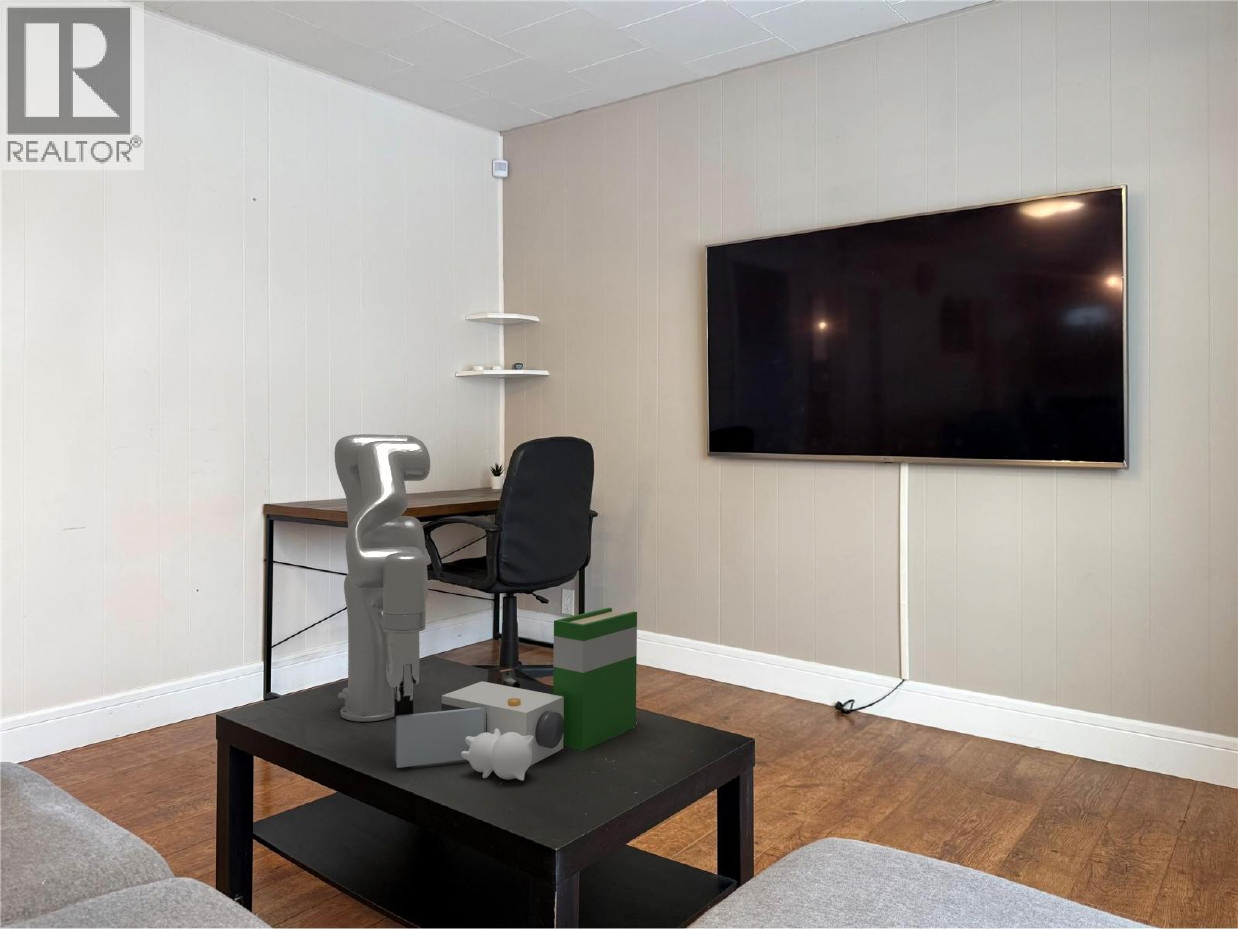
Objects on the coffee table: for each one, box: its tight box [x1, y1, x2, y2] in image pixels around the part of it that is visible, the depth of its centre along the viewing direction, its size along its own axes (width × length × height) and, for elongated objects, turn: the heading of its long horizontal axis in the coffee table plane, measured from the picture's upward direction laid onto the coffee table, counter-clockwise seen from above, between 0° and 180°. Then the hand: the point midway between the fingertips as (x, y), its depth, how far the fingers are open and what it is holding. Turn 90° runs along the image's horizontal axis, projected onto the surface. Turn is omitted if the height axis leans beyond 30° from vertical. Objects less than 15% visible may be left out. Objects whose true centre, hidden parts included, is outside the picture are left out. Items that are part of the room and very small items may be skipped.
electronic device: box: [486, 667, 521, 689], centre depth 199 cm, size 4×10×8 cm, turn 43°
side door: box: [394, 707, 486, 769], centre depth 160 cm, size 16×3×9 cm, turn 112°
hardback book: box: [552, 607, 638, 752], centre depth 177 cm, size 18×7×24 cm, turn 144°
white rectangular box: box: [440, 681, 564, 767], centre depth 168 cm, size 22×12×11 cm, turn 60°
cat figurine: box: [461, 728, 534, 781], centre depth 156 cm, size 9×11×12 cm
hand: (403, 721), depth 161 cm, fingers closed
